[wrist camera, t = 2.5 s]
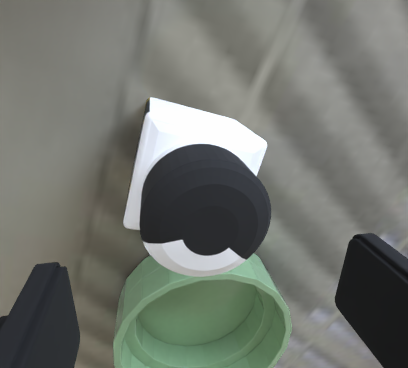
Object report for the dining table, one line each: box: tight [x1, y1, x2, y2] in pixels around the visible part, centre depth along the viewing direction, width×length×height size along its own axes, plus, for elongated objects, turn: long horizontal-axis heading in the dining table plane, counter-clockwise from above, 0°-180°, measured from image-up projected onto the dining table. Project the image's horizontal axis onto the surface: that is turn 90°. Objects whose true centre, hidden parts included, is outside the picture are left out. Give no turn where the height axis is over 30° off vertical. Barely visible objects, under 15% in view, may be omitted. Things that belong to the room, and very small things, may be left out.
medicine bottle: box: [123, 98, 271, 277], centre depth 18 cm, size 7×7×12 cm
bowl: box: [113, 253, 292, 368], centre depth 27 cm, size 15×15×6 cm
